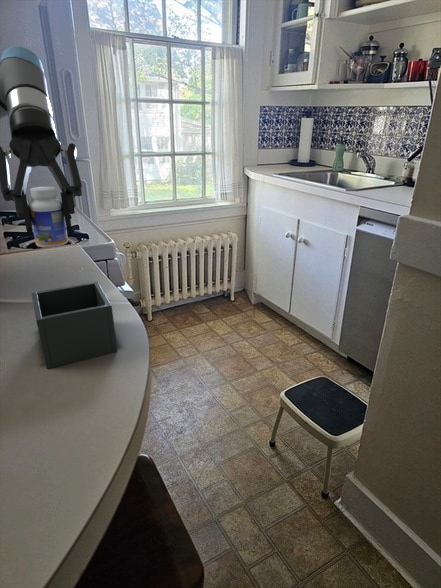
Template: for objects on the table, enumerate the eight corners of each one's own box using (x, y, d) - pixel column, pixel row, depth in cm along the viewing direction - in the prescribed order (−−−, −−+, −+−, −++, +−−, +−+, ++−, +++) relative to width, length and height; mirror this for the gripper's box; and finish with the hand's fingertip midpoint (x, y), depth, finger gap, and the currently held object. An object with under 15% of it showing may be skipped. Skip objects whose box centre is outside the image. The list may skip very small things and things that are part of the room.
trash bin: (46, 369, 61) (36, 320, 57) (41, 336, 70) (31, 292, 66) (117, 351, 65) (111, 305, 62) (103, 323, 74) (97, 281, 71)
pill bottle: (29, 246, 68) (17, 189, 64) (51, 238, 73) (41, 184, 69) (54, 249, 67) (43, 191, 62) (75, 241, 71) (66, 186, 67)
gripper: (84, 135, 79) (106, 236, 72) (-20, 137, 72) (-7, 248, 65) (83, 106, 72) (106, 213, 65) (-32, 105, 66) (-19, 224, 59)
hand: (49, 230), depth 65 cm, fingers closed on pill bottle, 5 cm apart
